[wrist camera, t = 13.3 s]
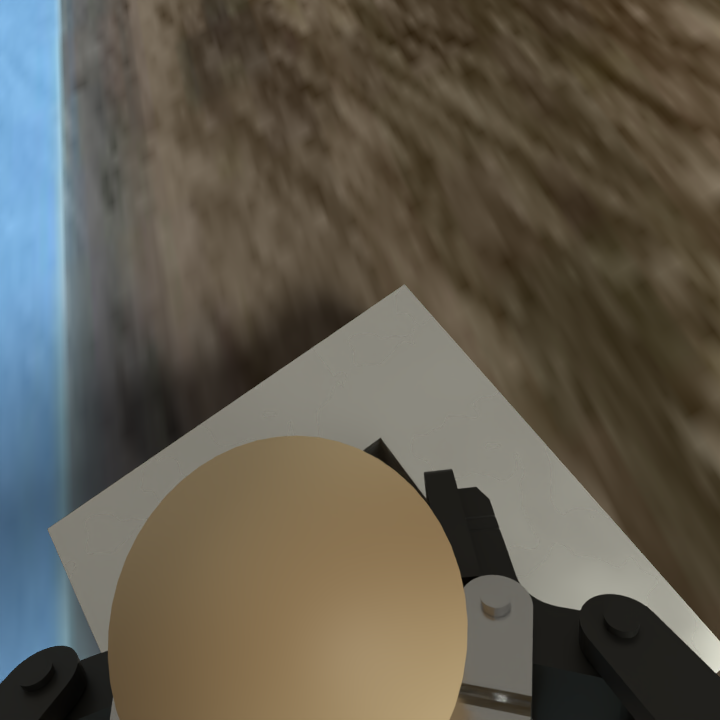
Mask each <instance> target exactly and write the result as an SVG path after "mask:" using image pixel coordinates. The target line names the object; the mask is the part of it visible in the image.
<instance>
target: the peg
mask: <svg viewBox="0 0 720 720" xmlns="http://www.w3.org/2000/svg"><path fill="white" fill-rule="evenodd" d="M467 628H468V621H467V611H466V600H465V593H464V588H463V584H462V579H461V574H460V570H459V567H458V564H457V561H456V558H455V555H454V553H453V550H452V547H451V544H450V542H449V540H448V538H447V536H446V534H445V532H444V530H443V528H442V526H441V524H440V522H439V521H438V519H437V518H436V516H435V515H434V513H433V512H432V510H431V509H430V507H429V506H428V504H427V503H426V502H425V500H424V499H423V498H422V497H421V496H420V495H419V493H418V492H417V491H416V490H415V489H414V488H413V486H412V485H411V484H409V483H408V482H407V481H406V480H405V479H404V478H403V477H402V476H401V475H400V474H398V473H397V472H396V471H395V470H394V469H392V468H391V467H389V466H388V465H386V464H385V463H383V462H382V461H381V460H379V459H378V458H376V457H374V456H372V455H370V454H368V453H366V452H364V451H362V450H360V449H358V448H355V447H353V446H350V445H347V444H344V443H341V442H338V441H334V440H329V439H324V438H320V437H309V436H281V437H273V438H267V439H262V440H257V441H253V442H250V443H247V444H244V445H241V446H238V447H235V448H233V449H231V450H229V451H226V452H224V453H222V454H220V455H218V456H216V457H214V458H213V459H211V460H209V461H208V462H206V463H205V464H203V465H201V466H200V467H198V468H197V469H196V470H194V471H193V472H192V473H190V474H189V475H188V476H187V477H185V478H184V479H183V480H182V481H180V482H179V483H178V484H177V485H176V486H175V487H174V488H173V489H172V490H171V491H170V492H169V493H168V494H167V495H166V496H165V497H164V499H163V500H162V501H161V502H160V504H159V505H158V506H157V507H156V509H155V510H154V511H153V512H152V514H151V515H150V516H149V518H148V519H147V521H146V523H145V524H144V526H143V527H142V529H141V530H140V532H139V533H138V535H137V537H136V539H135V541H134V543H133V545H132V547H131V549H130V551H129V553H128V555H127V557H126V560H125V563H124V565H123V568H122V571H121V574H120V576H119V579H118V582H117V586H116V590H115V594H114V598H113V603H112V608H111V615H110V623H109V630H108V664H109V675H110V684H111V689H112V693H113V698H114V703H115V707H116V711H117V714H118V717H119V720H450V717H451V715H452V712H453V710H454V708H455V705H456V701H457V698H458V694H459V690H460V687H461V683H462V679H463V673H464V667H465V660H466V653H467Z"/></svg>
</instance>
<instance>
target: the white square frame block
mask: <svg viewBox="0 0 720 720" xmlns="http://www.w3.org/2000/svg"><path fill="white" fill-rule="evenodd" d="M281 436H309V437H320V438H324V439H329V440H334V441H338V442H341V443H344V444H347V445H350V446H353V447H355V448H358V449H360V450H362V451H364V452H366V453H368V454H370V455H372V456H374V457H376V458H378V459H379V460H381V461H382V462H383V463H385V464H386V465H388V466H389V467H391V468H392V469H394V470H395V471H396V472H397V473H398V474H400V475H401V476H402V477H403V478H404V479H405V480H406V481H407V482H408V483H409V484H411V485H412V486H413V488H414V489H415V490H416V491H417V492H418V493H419V495H420V496H421V497H422V498H423V499H424V500H425V502H426V503H427V501H426V491H425V482H424V472H428V471H437V470H446V469H452V470H453V473H454V477H455V480H456V484H457V488H458V489H460V488H469V487H477V488H478V489H479V490H480V491H481V492H483V493H484V494H485V495H486V496H487V497H488V498H489V499H490V502H491V505H492V508H493V511H494V513H495V517H496V519H497V522H498V525H499V529H500V531H501V533H502V536H503V539H504V542H505V545H506V548H507V551H508V553H509V556H510V559H511V562H512V565H513V568H514V571H515V573H516V576H517V579H518V581H519V583H520V584H521V585H522V586H523V587H524V588H525V589H526V590H527V591H528V593H529V594H531V595H532V596H533V597H535V598H537V599H538V600H540V601H542V602H545V603H548V604H550V605H554V606H559V607H564V608H570V609H576V610H581V608H582V606H583V605H584V603H585V602H586V601H588V600H589V599H590V598H592V597H595V596H598V595H602V594H617V595H623V596H627V597H630V598H632V599H635V600H637V601H639V602H641V603H642V604H644V605H645V606H647V607H648V608H649V609H651V610H652V611H653V612H654V613H655V614H656V615H657V616H658V617H659V618H660V619H661V620H662V621H663V622H664V623H665V624H666V625H667V626H668V627H669V628H670V629H671V630H672V631H673V632H674V633H675V634H676V635H677V636H678V637H679V638H680V639H681V640H683V641H684V642H685V643H686V644H687V645H688V646H689V647H690V648H691V649H692V650H693V651H694V652H695V653H696V654H697V655H698V656H699V657H700V658H701V659H702V660H703V661H704V662H705V663H706V664H707V665H708V666H709V667H710V668H711V669H712V670H713V671H714V672H715V673H717V672H718V671H719V670H720V641H719V640H718V639H717V638H716V637H715V636H714V634H713V633H712V632H711V631H710V630H709V629H708V628H707V626H706V625H705V624H704V623H703V622H702V621H701V620H700V619H699V617H698V616H697V615H696V614H695V613H694V612H693V611H692V609H691V608H690V607H689V606H688V605H687V604H686V603H685V602H684V600H683V599H682V598H681V597H680V596H679V595H678V594H677V593H676V591H675V590H674V589H673V588H672V587H671V586H670V585H669V583H668V582H667V581H666V580H665V579H664V578H663V577H662V576H661V574H660V573H659V572H658V571H657V570H656V569H655V568H654V566H653V565H652V564H651V563H650V562H649V561H648V560H647V559H646V557H645V556H644V555H643V554H642V553H641V552H640V551H639V549H638V548H637V547H636V546H635V545H634V544H633V543H632V542H631V540H630V539H629V538H628V537H627V536H626V535H625V534H624V533H623V531H622V530H621V529H620V528H619V527H618V526H617V525H616V523H615V522H614V521H613V520H612V519H611V518H610V517H609V516H608V514H607V513H606V512H605V511H604V510H603V509H602V508H601V506H600V505H599V504H598V503H597V502H596V501H595V500H594V499H593V497H592V496H591V495H590V494H589V493H588V492H587V491H586V489H585V488H584V487H583V486H582V485H581V484H580V483H579V482H578V480H577V479H576V478H575V477H574V476H573V475H572V474H571V473H570V471H569V470H568V469H567V468H566V467H565V466H564V465H563V463H562V462H561V461H560V460H559V459H558V458H557V457H556V456H555V454H554V453H553V452H552V451H551V450H550V449H549V448H548V446H547V445H546V444H545V443H544V442H543V441H542V440H541V439H540V437H539V436H538V435H537V434H536V433H535V432H534V431H533V429H532V428H531V427H530V426H529V425H528V424H527V423H526V422H525V420H524V419H523V418H522V417H521V416H520V415H519V414H518V413H517V411H516V410H515V409H514V408H513V407H512V406H511V405H510V403H509V402H508V401H507V400H506V399H505V398H504V397H503V396H502V394H501V393H500V392H499V391H498V390H497V389H496V388H495V386H494V385H493V384H492V383H491V382H490V381H489V380H488V379H487V377H486V376H485V375H484V374H483V373H482V372H481V371H480V369H479V368H478V367H477V366H476V365H475V364H474V363H473V362H472V360H471V359H470V358H469V357H468V356H467V355H466V354H465V353H464V351H463V350H462V349H461V348H460V347H459V346H458V345H457V343H456V342H455V341H454V340H453V339H452V338H451V337H450V336H449V334H448V333H447V332H446V331H445V330H444V329H443V328H442V326H441V325H440V324H439V323H438V322H437V321H436V320H435V319H434V317H433V316H432V315H431V314H430V313H429V312H428V311H427V310H426V308H425V307H424V306H423V305H422V304H421V303H420V302H419V300H418V299H417V298H416V297H415V296H414V295H413V294H412V293H411V291H410V290H409V289H408V288H407V287H406V286H405V285H403V286H402V287H400V288H399V289H397V290H396V291H394V292H393V293H391V294H390V295H388V296H387V297H385V298H384V299H383V300H381V301H380V302H378V303H377V304H375V305H374V306H372V307H371V308H369V309H368V310H366V311H365V312H364V313H362V314H361V315H359V316H358V317H356V318H355V319H353V320H352V321H350V322H349V323H348V324H346V325H345V326H343V327H342V328H340V329H339V330H337V331H336V332H334V333H333V334H331V335H330V336H329V337H327V338H326V339H324V340H323V341H321V342H320V343H318V344H317V345H315V346H314V347H312V348H311V349H310V350H308V351H307V352H305V353H304V354H302V355H301V356H299V357H298V358H296V359H295V360H293V361H292V362H291V363H289V364H288V365H286V366H285V367H283V368H282V369H280V370H279V371H277V372H276V373H274V374H273V375H272V376H270V377H269V378H267V379H266V380H264V381H263V382H261V383H260V384H258V385H257V386H255V387H254V388H253V389H251V390H250V391H248V392H247V393H245V394H244V395H242V396H241V397H239V398H238V399H237V400H235V401H234V402H232V403H231V404H229V405H228V406H226V407H225V408H223V409H222V410H220V411H219V412H218V413H216V414H215V415H213V416H212V417H210V418H209V419H207V420H206V421H204V422H203V423H201V424H200V425H199V426H197V427H196V428H194V429H193V430H191V431H190V432H188V433H187V434H185V435H184V436H182V437H181V438H180V439H178V440H177V441H175V442H174V443H172V444H171V445H169V446H168V447H166V448H165V449H163V450H162V451H161V452H159V453H158V454H156V455H155V456H153V457H152V458H150V459H149V460H147V461H146V462H144V463H143V464H142V465H140V466H139V467H137V468H136V469H134V470H133V471H131V472H130V473H128V474H127V475H126V476H124V477H123V478H121V479H120V480H118V481H117V482H115V483H114V484H112V485H111V486H109V487H108V488H107V489H105V490H104V491H102V492H101V493H99V494H98V495H96V496H95V497H93V498H92V499H90V500H89V501H88V502H86V503H85V504H83V505H82V506H80V507H79V508H77V509H76V510H74V511H73V512H71V513H70V514H69V515H67V516H66V517H64V518H63V519H61V520H60V521H58V522H57V523H55V524H54V525H52V526H51V527H50V528H48V532H49V534H50V536H51V539H52V541H53V543H54V545H55V548H56V550H57V552H58V555H59V557H60V559H61V562H62V564H63V566H64V568H65V571H66V573H67V575H68V578H69V580H70V582H71V585H72V587H73V589H74V591H75V594H76V596H77V598H78V601H79V603H80V605H81V607H82V610H83V612H84V614H85V617H86V619H87V621H88V624H89V626H90V628H91V630H92V633H93V635H94V637H95V640H96V642H97V644H98V647H99V649H100V651H101V653H102V652H105V651H108V630H109V623H110V615H111V608H112V603H113V598H114V594H115V590H116V586H117V582H118V579H119V576H120V574H121V571H122V568H123V565H124V563H125V560H126V557H127V555H128V553H129V551H130V549H131V547H132V545H133V543H134V541H135V539H136V537H137V535H138V533H139V532H140V530H141V529H142V527H143V526H144V524H145V523H146V521H147V519H148V518H149V516H150V515H151V514H152V512H153V511H154V510H155V509H156V507H157V506H158V505H159V504H160V502H161V501H162V500H163V499H164V497H165V496H166V495H167V494H168V493H169V492H170V491H171V490H172V489H173V488H174V487H175V486H176V485H177V484H178V483H179V482H180V481H182V480H183V479H184V478H185V477H187V476H188V475H189V474H190V473H192V472H193V471H194V470H196V469H197V468H198V467H200V466H201V465H203V464H205V463H206V462H208V461H209V460H211V459H213V458H214V457H216V456H218V455H220V454H222V453H224V452H226V451H229V450H231V449H233V448H235V447H238V446H241V445H244V444H247V443H250V442H253V441H257V440H262V439H267V438H273V437H281Z"/></svg>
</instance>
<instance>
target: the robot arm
mask: <svg viewBox="0 0 720 720" xmlns="http://www.w3.org/2000/svg"><path fill="white" fill-rule="evenodd" d="M424 482H425V491H426V501H427V504H428V506H429V507H430V509H431V510H432V512H433V513H434V515H435V516H436V518H437V519H438V521H439V522H440V524H441V526H442V528H443V530H444V532H445V534H446V536H447V538H448V540H449V542H450V544H451V547H452V550H453V553H454V555H455V558H456V561H457V564H458V567H459V570H460V574H461V579H462V584H463V588H464V593H465V600H466V611H467V621H468V628H467V653H466V660H465V667H464V673H463V679H462V683H461V687H460V690H459V694H458V698H457V701H456V705H455V708H454V710H453V712H452V715H451V717H450V720H720V677H719V676H718V675H717V674H716V673H715V672H714V671H713V670H712V669H711V668H710V667H709V666H708V665H707V664H706V663H705V662H704V661H703V660H702V659H701V658H700V657H699V656H698V655H697V654H696V653H695V652H694V651H693V650H692V649H691V648H690V647H689V646H688V645H687V644H686V643H685V642H684V641H683V640H681V639H680V638H679V637H678V636H677V635H676V634H675V633H674V632H673V631H672V630H671V629H670V628H669V627H668V626H667V625H666V624H665V623H664V622H663V621H662V620H661V619H660V618H659V617H658V616H657V615H656V614H655V613H654V612H653V611H652V610H651V609H649V608H648V607H647V606H645V605H644V604H642V603H641V602H639V601H637V600H635V599H632V598H630V597H627V596H623V595H617V594H602V595H598V596H595V597H592V598H590V599H589V600H588V601H586V602H585V603H584V605H583V606H582V608H581V610H576V609H570V608H564V607H559V606H554V605H550V604H548V603H545V602H542V601H540V600H538V599H537V598H535V597H533V596H532V595H531V594H529V593H528V591H527V590H526V589H525V588H524V587H523V586H522V585H521V584H520V583H519V581H518V579H517V576H516V573H515V571H514V568H513V565H512V562H511V559H510V556H509V553H508V551H507V548H506V545H505V542H504V539H503V536H502V533H501V531H500V529H499V525H498V522H497V519H496V517H495V513H494V511H493V508H492V505H491V502H490V499H489V498H488V497H487V496H486V495H485V494H484V493H483V492H481V491H480V490H479V489H478V488H477V487H469V488H460V489H458V488H457V484H456V480H455V477H454V473H453V470H452V469H446V470H437V471H428V472H424ZM0 720H119V717H118V714H117V711H116V707H115V703H114V698H113V693H112V689H111V684H110V675H109V664H108V651H105V652H102V653H100V654H97V655H94V656H92V657H89V658H86V659H84V660H81V661H80V660H79V658H78V656H77V654H76V652H75V651H74V650H73V649H72V648H70V647H67V646H55V647H50V648H47V649H44V650H42V651H39V652H37V653H35V654H34V655H32V656H30V657H29V658H27V659H26V660H24V661H23V662H22V663H21V664H19V665H18V666H17V667H16V668H15V669H14V670H13V671H12V672H11V673H10V674H9V675H8V676H7V677H6V678H5V679H4V680H3V682H2V683H1V684H0Z"/></svg>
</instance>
